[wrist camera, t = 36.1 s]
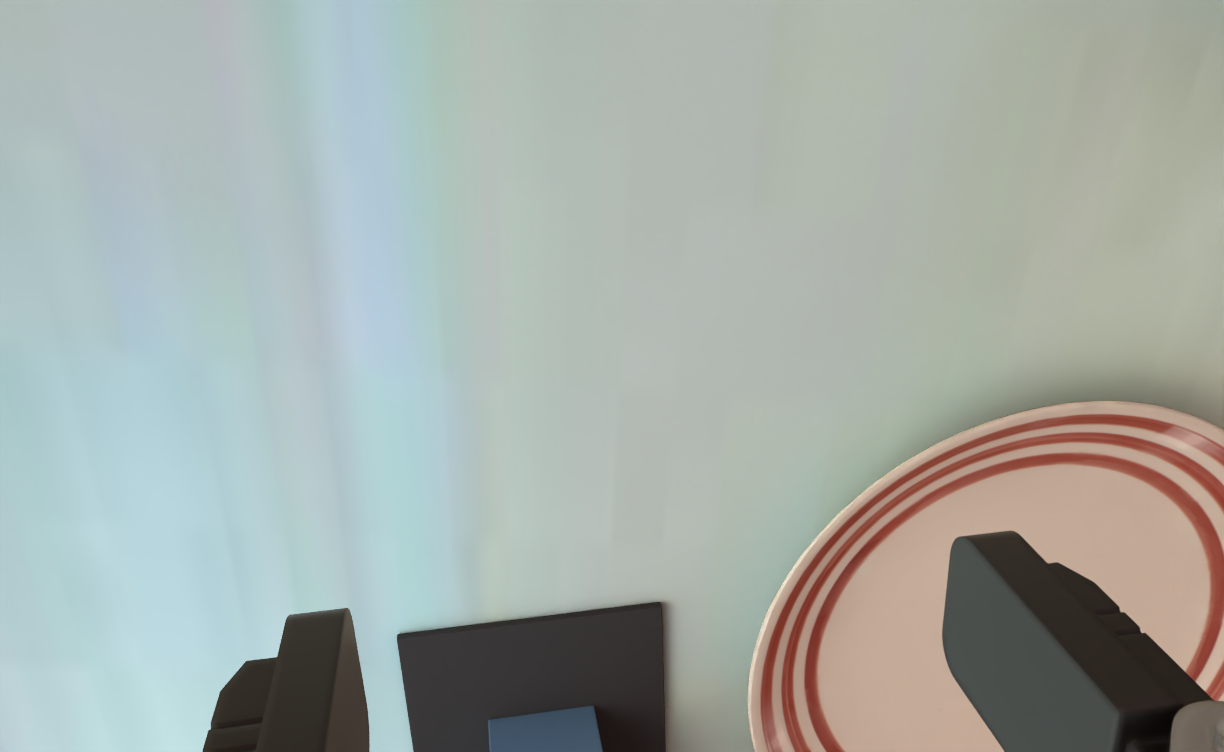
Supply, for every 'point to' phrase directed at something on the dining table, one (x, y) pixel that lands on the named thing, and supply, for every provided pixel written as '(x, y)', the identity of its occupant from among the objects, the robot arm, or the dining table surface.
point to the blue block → (547, 732)
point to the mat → (538, 677)
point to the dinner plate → (977, 504)
